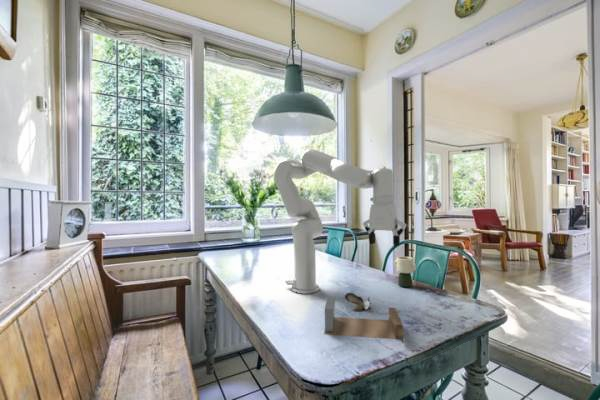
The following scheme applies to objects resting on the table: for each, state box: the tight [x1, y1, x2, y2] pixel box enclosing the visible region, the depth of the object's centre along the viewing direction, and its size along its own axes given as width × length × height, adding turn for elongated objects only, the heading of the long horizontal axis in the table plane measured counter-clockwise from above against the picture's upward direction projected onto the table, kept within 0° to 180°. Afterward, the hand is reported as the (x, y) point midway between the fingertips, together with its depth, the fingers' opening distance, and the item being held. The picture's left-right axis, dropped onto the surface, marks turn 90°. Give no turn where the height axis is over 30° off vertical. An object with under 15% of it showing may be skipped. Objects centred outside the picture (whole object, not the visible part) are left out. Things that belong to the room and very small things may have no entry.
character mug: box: [394, 256, 417, 287], centre depth 127 cm, size 11×7×13 cm, turn 35°
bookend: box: [324, 296, 336, 333], centre depth 86 cm, size 2×10×7 cm, turn 170°
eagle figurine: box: [344, 292, 372, 313], centre depth 99 cm, size 8×7×9 cm
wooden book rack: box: [323, 307, 404, 344], centre depth 84 cm, size 22×12×6 cm, turn 80°
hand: (384, 244), depth 107 cm, fingers open, 9 cm apart
